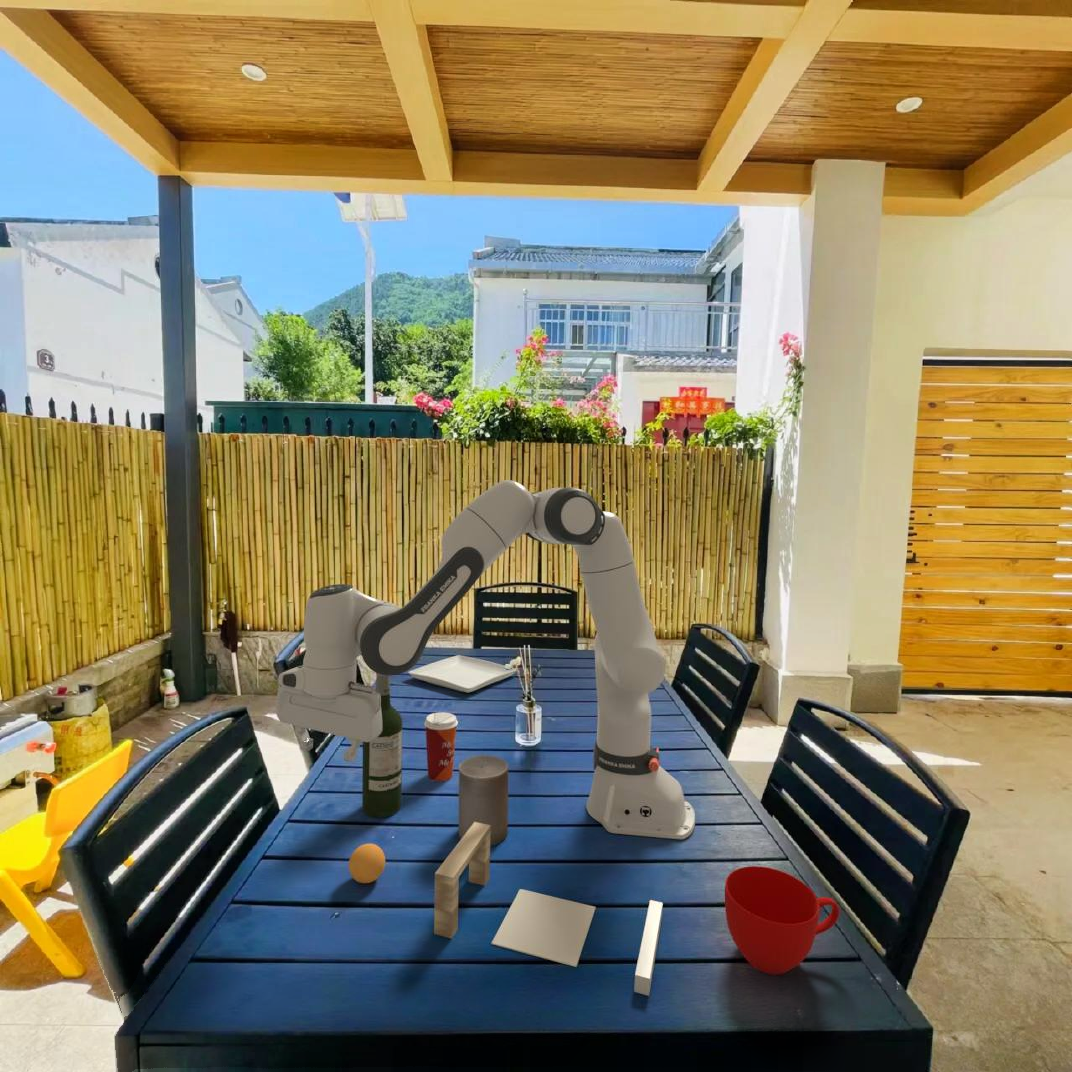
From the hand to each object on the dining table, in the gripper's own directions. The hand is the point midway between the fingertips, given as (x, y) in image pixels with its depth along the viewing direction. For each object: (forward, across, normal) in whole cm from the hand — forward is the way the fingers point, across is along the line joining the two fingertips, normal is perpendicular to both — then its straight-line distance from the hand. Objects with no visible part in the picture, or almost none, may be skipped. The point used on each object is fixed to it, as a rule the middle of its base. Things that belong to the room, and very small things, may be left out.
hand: (328, 754), depth 109 cm
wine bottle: (+20, +1, -19) cm, 28 cm away
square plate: (+20, +25, -101) cm, 106 cm away
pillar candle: (+20, -22, -20) cm, 35 cm away
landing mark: (+19, -42, -1) cm, 46 cm away
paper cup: (+20, -3, -36) cm, 42 cm away
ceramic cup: (+18, -76, -8) cm, 78 cm away
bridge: (+19, -28, 0) cm, 34 cm away
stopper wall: (+19, -58, -1) cm, 61 cm away
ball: (+17, -10, +1) cm, 19 cm away
